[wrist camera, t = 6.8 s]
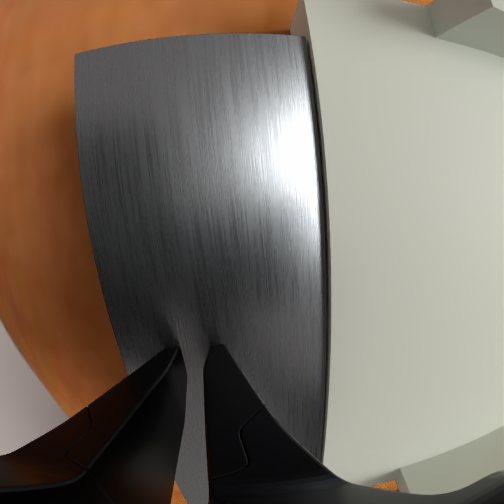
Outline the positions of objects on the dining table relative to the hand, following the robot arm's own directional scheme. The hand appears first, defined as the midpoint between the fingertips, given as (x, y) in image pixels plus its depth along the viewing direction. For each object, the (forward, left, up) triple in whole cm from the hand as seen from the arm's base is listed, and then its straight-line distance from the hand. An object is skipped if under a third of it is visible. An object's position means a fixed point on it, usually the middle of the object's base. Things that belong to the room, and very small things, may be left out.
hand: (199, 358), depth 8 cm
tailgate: (0, -4, -1) cm, 4 cm away
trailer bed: (0, -10, -4) cm, 10 cm away
